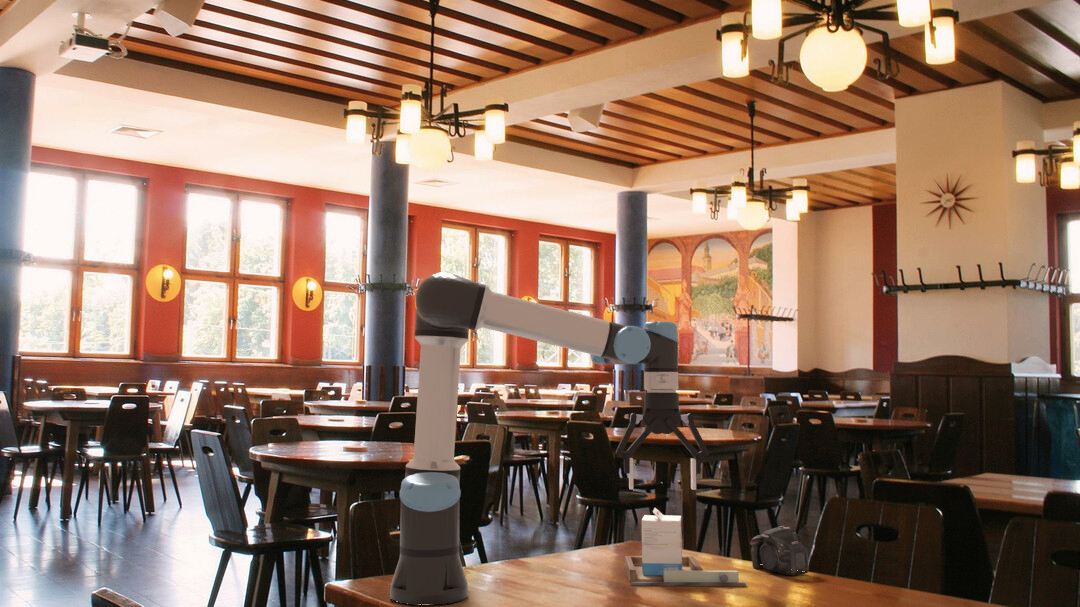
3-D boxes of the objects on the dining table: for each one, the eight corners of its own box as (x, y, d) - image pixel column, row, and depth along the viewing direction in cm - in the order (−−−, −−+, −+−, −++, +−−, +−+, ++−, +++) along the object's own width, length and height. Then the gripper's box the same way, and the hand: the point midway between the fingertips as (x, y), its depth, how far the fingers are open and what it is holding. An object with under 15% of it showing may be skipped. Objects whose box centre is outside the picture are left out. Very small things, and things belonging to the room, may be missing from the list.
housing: (630, 585, 184) (630, 572, 185) (625, 567, 202) (624, 555, 202) (746, 586, 184) (745, 573, 184) (730, 568, 201) (729, 556, 201)
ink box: (681, 577, 188) (680, 512, 190) (641, 575, 190) (641, 511, 191) (682, 568, 197) (681, 507, 198) (644, 567, 198) (643, 506, 200)
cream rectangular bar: (664, 585, 184) (664, 572, 184) (663, 583, 186) (663, 570, 186) (739, 585, 183) (739, 573, 184) (737, 583, 186) (737, 570, 186)
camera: (740, 570, 199) (740, 525, 200) (763, 564, 206) (762, 520, 207) (795, 580, 190) (794, 532, 190) (817, 572, 197) (816, 527, 198)
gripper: (605, 391, 193) (606, 490, 192) (721, 391, 193) (722, 491, 191) (604, 391, 201) (604, 486, 199) (715, 391, 200) (716, 487, 198)
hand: (662, 489), depth 195 cm, fingers open, 13 cm apart
